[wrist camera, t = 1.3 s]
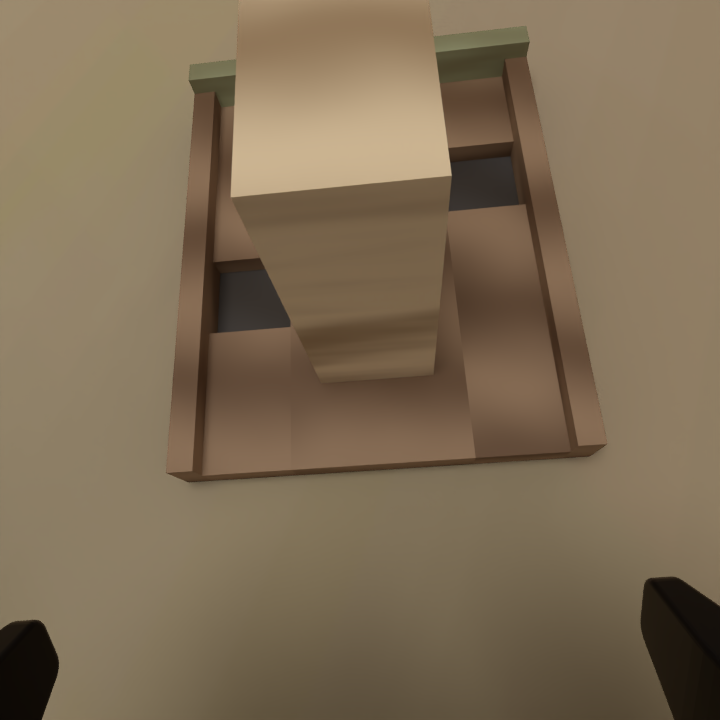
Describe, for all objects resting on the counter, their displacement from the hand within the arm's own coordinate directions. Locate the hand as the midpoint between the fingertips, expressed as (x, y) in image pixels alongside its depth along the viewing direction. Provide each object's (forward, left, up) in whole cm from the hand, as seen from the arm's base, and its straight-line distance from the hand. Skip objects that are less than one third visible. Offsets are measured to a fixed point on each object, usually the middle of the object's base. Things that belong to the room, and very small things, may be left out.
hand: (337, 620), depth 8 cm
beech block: (+9, -7, -12) cm, 16 cm away
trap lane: (+12, -9, -13) cm, 20 cm away
